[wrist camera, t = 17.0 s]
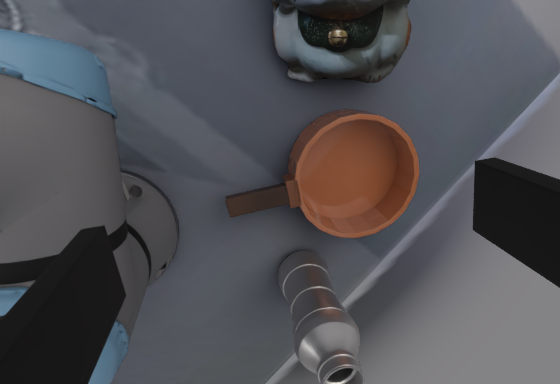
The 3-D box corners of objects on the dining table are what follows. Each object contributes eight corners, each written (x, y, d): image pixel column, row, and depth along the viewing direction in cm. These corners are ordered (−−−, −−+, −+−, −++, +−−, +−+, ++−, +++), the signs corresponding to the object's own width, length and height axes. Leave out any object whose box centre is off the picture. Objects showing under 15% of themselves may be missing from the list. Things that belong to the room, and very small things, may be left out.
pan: (298, 232, 50) (306, 250, 45) (277, 123, 45) (283, 130, 40) (404, 207, 51) (423, 221, 46) (394, 97, 46) (414, 101, 41)
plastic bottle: (333, 267, 52) (396, 381, 33) (294, 297, 53) (335, 426, 34) (304, 234, 50) (354, 337, 31) (264, 266, 51) (289, 386, 32)
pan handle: (230, 214, 45) (231, 222, 43) (224, 188, 44) (224, 196, 42) (298, 198, 46) (302, 205, 43) (293, 172, 45) (297, 179, 42)
